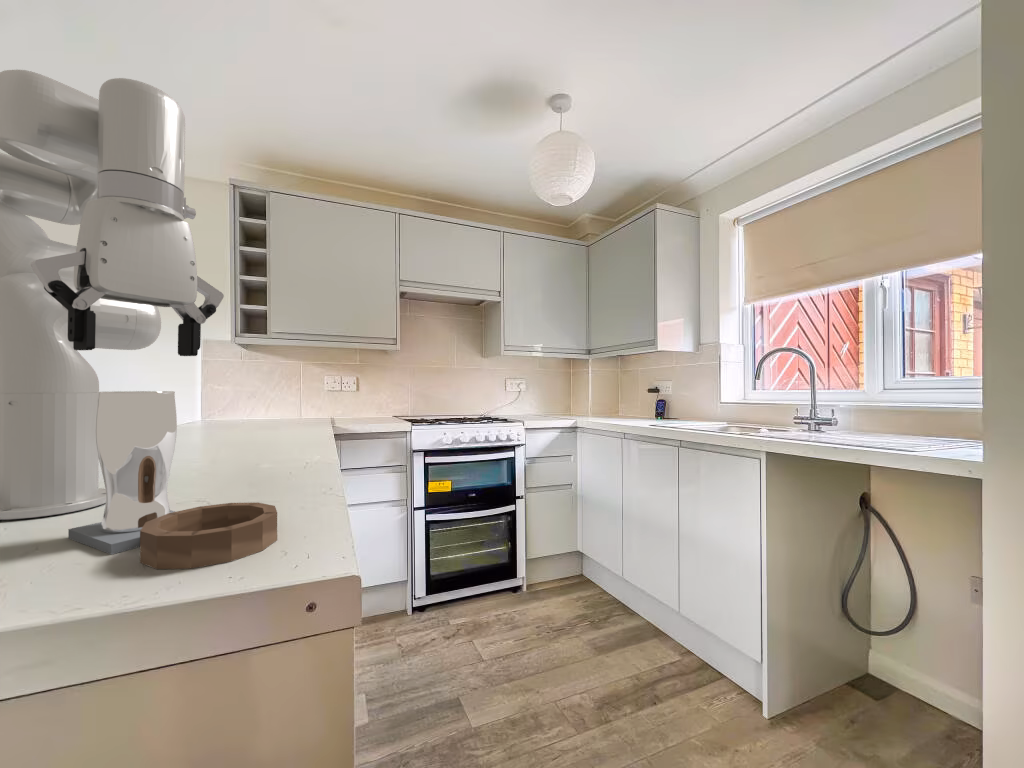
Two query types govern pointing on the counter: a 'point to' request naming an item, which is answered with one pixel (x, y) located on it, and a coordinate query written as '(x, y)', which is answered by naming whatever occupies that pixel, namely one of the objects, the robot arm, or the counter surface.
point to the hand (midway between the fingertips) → (140, 353)
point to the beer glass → (135, 455)
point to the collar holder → (207, 535)
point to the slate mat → (105, 538)
